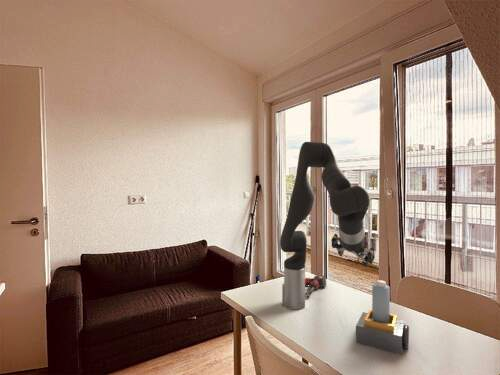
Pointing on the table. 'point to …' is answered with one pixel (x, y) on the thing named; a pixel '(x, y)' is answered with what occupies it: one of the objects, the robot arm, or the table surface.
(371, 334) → the gold-trimmed base block
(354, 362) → the table surface
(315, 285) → the valve
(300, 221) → the robot arm
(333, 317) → the table surface
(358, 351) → the table surface
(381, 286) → the light blue bottle
